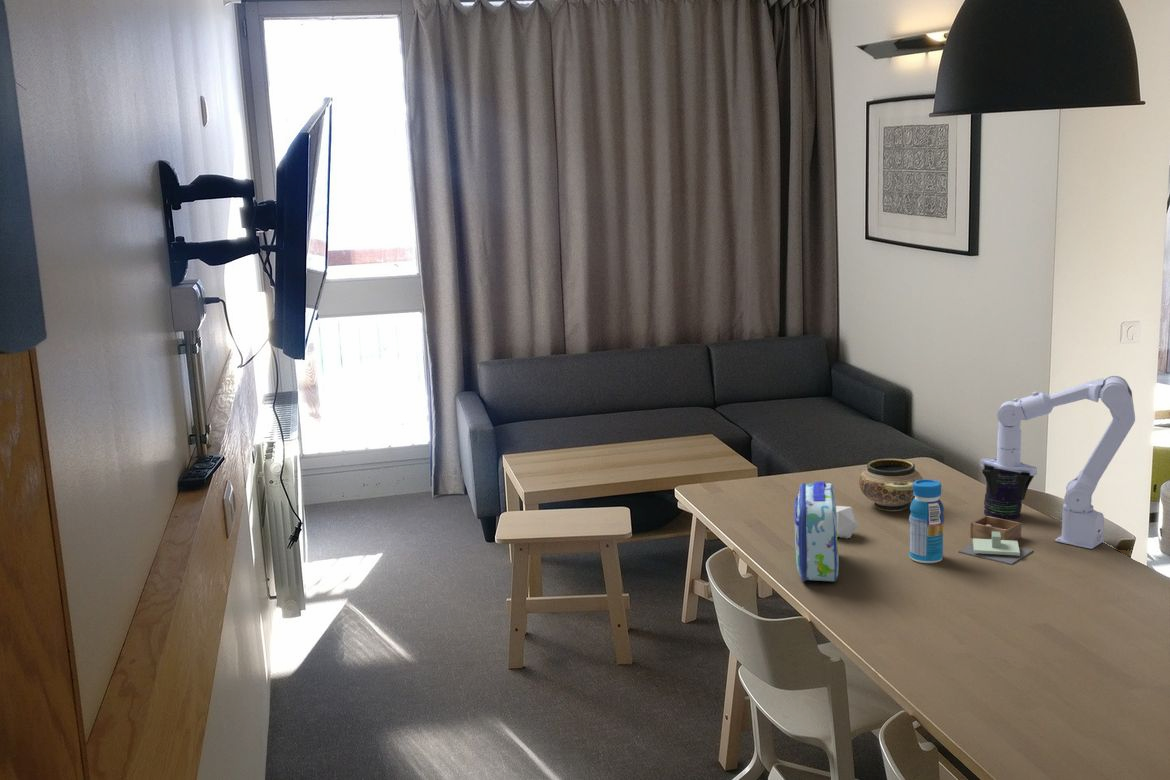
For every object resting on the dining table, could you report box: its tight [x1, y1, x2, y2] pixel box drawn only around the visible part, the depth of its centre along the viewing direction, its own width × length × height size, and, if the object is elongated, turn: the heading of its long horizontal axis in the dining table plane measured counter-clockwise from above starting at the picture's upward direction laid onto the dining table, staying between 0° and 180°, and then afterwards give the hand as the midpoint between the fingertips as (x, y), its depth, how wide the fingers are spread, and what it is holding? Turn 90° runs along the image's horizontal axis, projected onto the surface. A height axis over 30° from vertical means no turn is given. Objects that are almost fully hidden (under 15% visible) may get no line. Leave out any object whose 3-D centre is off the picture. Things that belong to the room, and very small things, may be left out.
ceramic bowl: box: [858, 458, 924, 512], centre depth 313 cm, size 24×18×15 cm
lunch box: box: [794, 480, 840, 582], centre depth 268 cm, size 26×11×21 cm, turn 168°
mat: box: [958, 542, 1034, 566], centre depth 275 cm, size 14×12×1 cm
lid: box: [972, 531, 1020, 556], centre depth 275 cm, size 11×9×4 cm
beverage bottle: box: [908, 478, 945, 564], centre depth 271 cm, size 8×8×20 cm
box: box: [970, 515, 1022, 541], centre depth 285 cm, size 10×8×4 cm
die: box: [836, 505, 859, 539], centre depth 292 cm, size 8×9×10 cm
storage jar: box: [983, 458, 1023, 521], centre depth 301 cm, size 10×10×15 cm
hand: (1007, 496), depth 285 cm, fingers open, 7 cm apart
